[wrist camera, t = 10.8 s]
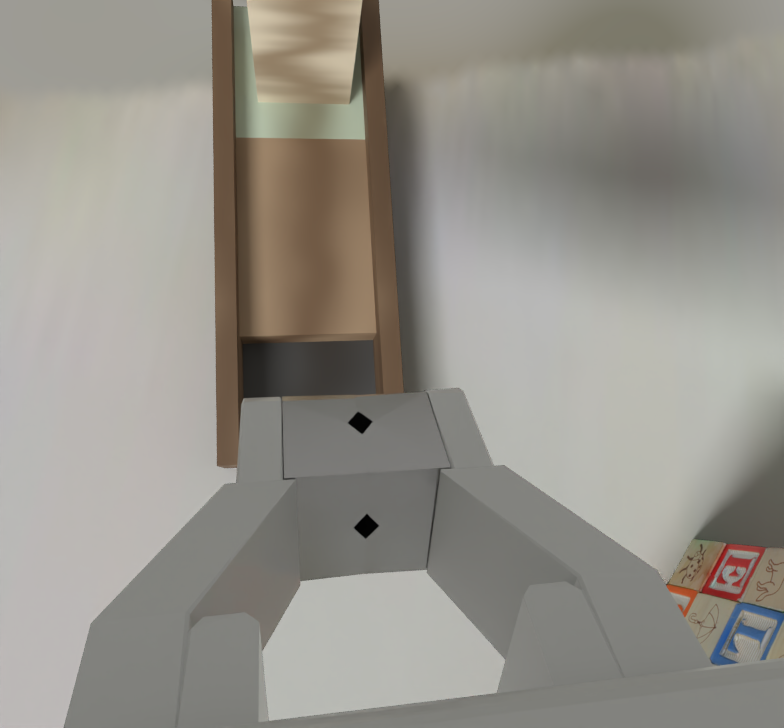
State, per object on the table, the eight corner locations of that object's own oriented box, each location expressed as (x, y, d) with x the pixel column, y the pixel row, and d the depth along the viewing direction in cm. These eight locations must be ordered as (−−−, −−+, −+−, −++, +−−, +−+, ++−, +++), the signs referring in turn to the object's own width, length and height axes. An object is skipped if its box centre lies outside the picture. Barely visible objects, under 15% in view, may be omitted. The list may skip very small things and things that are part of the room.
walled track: (225, 468, 34) (217, 465, 30) (219, 30, 38) (211, -16, 35) (397, 458, 35) (407, 455, 31) (371, 35, 39) (378, -7, 36)
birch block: (258, 102, 35) (245, -7, 28) (256, 21, 36) (243, -107, 29) (349, 104, 36) (362, -1, 28) (345, 25, 37) (357, -99, 29)
